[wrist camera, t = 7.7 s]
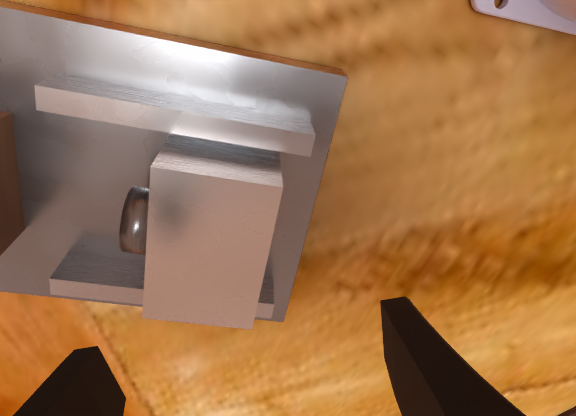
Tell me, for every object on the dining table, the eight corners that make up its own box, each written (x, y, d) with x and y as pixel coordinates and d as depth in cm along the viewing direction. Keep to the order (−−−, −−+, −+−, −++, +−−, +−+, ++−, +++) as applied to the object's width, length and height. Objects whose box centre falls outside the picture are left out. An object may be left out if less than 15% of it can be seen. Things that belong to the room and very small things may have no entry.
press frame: (340, 69, 17) (374, 106, 12) (282, 301, 22) (288, 391, 17) (-217, -45, 14) (-474, -58, 9) (-125, 254, 19) (-253, 346, 14)
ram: (278, 147, 16) (283, 187, 13) (253, 272, 19) (251, 329, 16) (144, 124, 15) (115, 161, 12) (138, 258, 18) (113, 314, 15)
